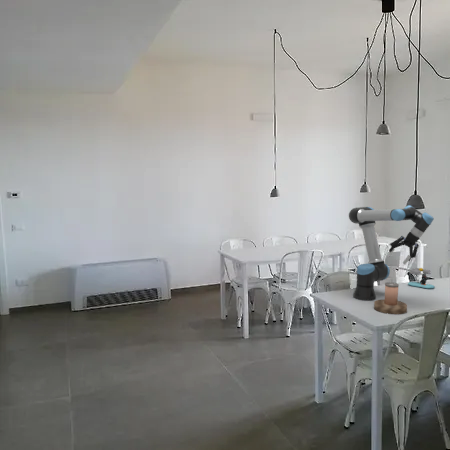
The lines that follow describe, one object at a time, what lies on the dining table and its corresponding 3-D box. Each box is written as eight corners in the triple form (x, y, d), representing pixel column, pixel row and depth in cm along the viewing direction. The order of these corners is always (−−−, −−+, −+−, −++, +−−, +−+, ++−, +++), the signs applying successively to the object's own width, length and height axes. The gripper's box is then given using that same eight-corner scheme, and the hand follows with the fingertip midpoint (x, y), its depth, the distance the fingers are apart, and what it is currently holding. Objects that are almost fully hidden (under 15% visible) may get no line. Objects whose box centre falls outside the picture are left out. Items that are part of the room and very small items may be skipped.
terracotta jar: (381, 302, 313) (382, 282, 311) (392, 301, 315) (393, 282, 313) (388, 305, 305) (389, 285, 303) (400, 305, 307) (401, 285, 305)
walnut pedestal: (374, 312, 303) (374, 306, 303) (373, 304, 323) (374, 298, 322) (408, 315, 298) (408, 309, 298) (405, 306, 317) (405, 300, 317)
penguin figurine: (436, 288, 369) (437, 268, 367) (430, 290, 362) (431, 270, 360) (411, 283, 384) (412, 264, 382) (405, 285, 377) (406, 266, 375)
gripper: (402, 229, 309) (383, 255, 316) (432, 244, 315) (412, 269, 322) (397, 224, 315) (379, 250, 323) (427, 239, 322) (408, 264, 329)
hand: (395, 259), depth 322 cm, fingers open, 13 cm apart
